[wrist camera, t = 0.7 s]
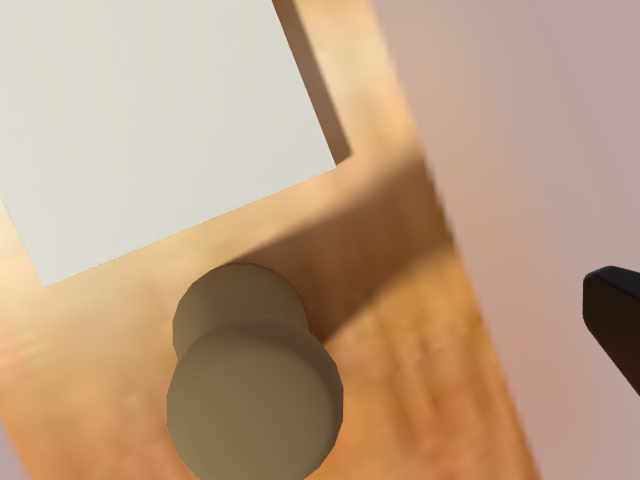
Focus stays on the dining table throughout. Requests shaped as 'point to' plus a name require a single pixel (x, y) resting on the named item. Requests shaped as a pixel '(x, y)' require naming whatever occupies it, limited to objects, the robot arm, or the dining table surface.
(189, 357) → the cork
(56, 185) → the white board
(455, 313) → the dining table surface
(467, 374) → the dining table surface
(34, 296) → the dining table surface
